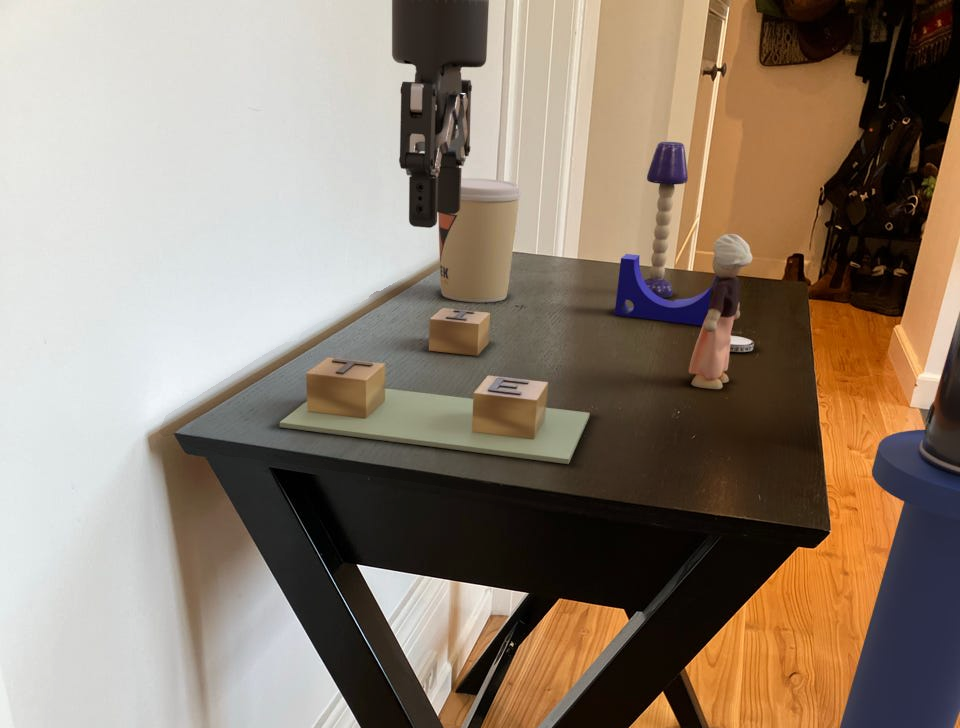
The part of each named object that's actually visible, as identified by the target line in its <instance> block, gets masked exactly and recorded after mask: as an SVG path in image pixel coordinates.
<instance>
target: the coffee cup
mask: <svg viewBox="0 0 960 728" xmlns="http://www.w3.org/2000/svg"><path fill="white" fill-rule="evenodd" d="M521 195H522V194H521V191H520V190H519V185H518V184H517V183H514V182H511V181H506V180H500V179H490V178H477V177H476V178H475V177H461V200H460V210H459V211H458V212H457V213H455V214H447V213H438V212H437V222H438V245H439V249H438V250H439V273H440V276H439V277H440V290H441V291H440V292H441V295H442V296H443V297H444V298H446V299H450V300H454V301H458V302H466V303H467V302H468V303H479V304H480V303H481V304H482V303H496V302H499V301H500V302H501V301H503V300H505V299H506V298H507V296H508V290H509V283H510V275H511V268H512V262H513V261H512V260H513V253H514V252H513V250H514V242H515V236H516V228H517V221H518V220H517V219H518V212H519V211H518V210H519V200H520V199H521Z"/></svg>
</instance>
